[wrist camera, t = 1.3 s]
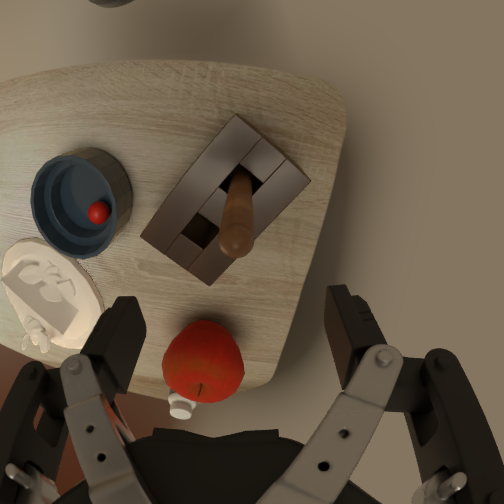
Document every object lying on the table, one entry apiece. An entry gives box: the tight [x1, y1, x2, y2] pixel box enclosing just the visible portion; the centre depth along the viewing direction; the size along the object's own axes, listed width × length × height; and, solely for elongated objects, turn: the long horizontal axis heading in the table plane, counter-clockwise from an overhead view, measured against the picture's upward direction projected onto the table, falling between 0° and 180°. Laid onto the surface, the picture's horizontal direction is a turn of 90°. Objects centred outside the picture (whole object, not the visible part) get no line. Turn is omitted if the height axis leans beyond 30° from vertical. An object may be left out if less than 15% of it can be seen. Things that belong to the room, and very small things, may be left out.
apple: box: [162, 320, 245, 403], centre depth 43 cm, size 12×12×14 cm
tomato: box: [88, 201, 110, 224], centre depth 36 cm, size 3×3×3 cm
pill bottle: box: [168, 388, 197, 419], centre depth 50 cm, size 5×5×10 cm
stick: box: [218, 163, 254, 258], centre depth 27 cm, size 2×2×22 cm
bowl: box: [31, 148, 132, 259], centre depth 35 cm, size 14×14×6 cm
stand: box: [140, 113, 311, 286], centre depth 34 cm, size 10×17×8 cm, turn 139°
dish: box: [1, 238, 105, 353], centre depth 41 cm, size 25×25×11 cm
